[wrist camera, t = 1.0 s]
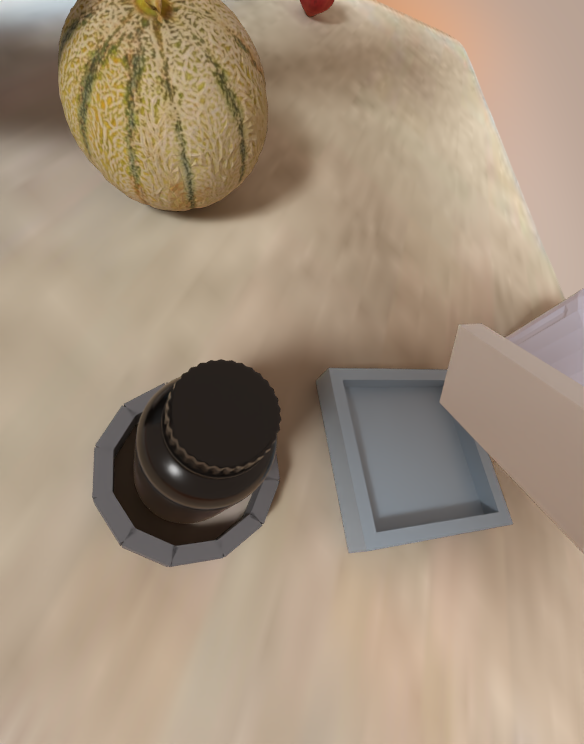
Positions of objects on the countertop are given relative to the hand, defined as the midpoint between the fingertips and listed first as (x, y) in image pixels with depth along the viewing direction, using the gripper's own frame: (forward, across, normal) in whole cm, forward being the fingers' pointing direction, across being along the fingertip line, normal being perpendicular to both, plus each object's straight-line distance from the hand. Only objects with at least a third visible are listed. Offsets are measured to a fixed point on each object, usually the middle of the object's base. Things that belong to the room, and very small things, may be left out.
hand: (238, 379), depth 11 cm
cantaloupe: (+32, -4, +2) cm, 32 cm away
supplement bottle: (+11, -3, -13) cm, 18 cm away
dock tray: (+13, +14, -16) cm, 25 cm away
